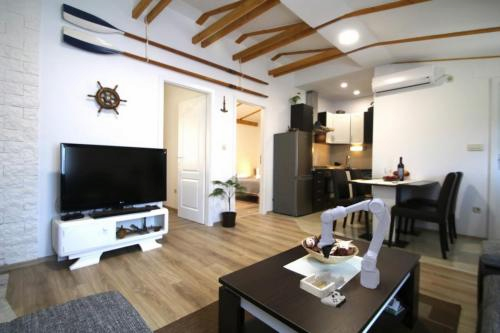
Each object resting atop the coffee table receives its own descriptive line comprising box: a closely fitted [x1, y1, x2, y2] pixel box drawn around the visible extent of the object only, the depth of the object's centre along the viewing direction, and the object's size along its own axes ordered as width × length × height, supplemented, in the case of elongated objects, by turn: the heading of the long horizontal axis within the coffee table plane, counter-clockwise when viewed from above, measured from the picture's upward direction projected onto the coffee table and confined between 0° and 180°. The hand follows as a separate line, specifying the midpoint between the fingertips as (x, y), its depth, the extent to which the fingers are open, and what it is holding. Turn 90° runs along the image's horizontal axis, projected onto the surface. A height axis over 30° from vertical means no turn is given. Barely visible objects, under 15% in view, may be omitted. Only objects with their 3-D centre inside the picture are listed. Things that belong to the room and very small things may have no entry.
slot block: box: [315, 270, 347, 291], centre depth 118 cm, size 11×12×3 cm
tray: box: [299, 273, 336, 300], centre depth 110 cm, size 11×12×4 cm
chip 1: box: [312, 281, 323, 289], centre depth 110 cm, size 4×4×2 cm
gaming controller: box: [320, 290, 347, 308], centre depth 101 cm, size 11×6×7 cm
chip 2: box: [316, 279, 327, 288], centre depth 112 cm, size 4×4×2 cm
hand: (326, 257), depth 126 cm, fingers closed
